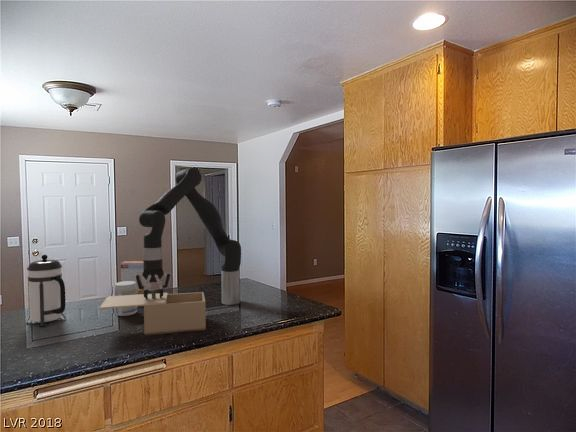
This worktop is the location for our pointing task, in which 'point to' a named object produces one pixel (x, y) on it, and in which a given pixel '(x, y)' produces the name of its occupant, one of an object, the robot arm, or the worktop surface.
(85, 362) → the worktop surface
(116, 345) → the worktop surface
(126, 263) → the cracker box
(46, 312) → the coffee press
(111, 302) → the carton lid
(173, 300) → the carton
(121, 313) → the supplement tub
